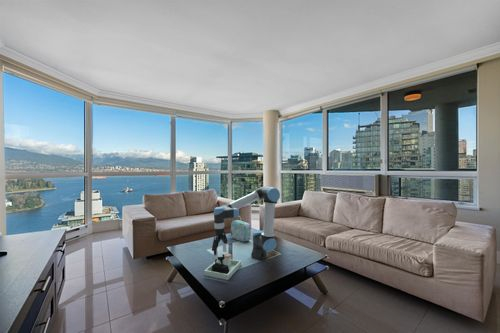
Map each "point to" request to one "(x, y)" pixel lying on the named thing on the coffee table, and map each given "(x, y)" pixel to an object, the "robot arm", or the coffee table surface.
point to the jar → (227, 260)
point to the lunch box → (240, 230)
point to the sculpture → (220, 266)
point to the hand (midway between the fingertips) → (220, 255)
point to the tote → (234, 266)
